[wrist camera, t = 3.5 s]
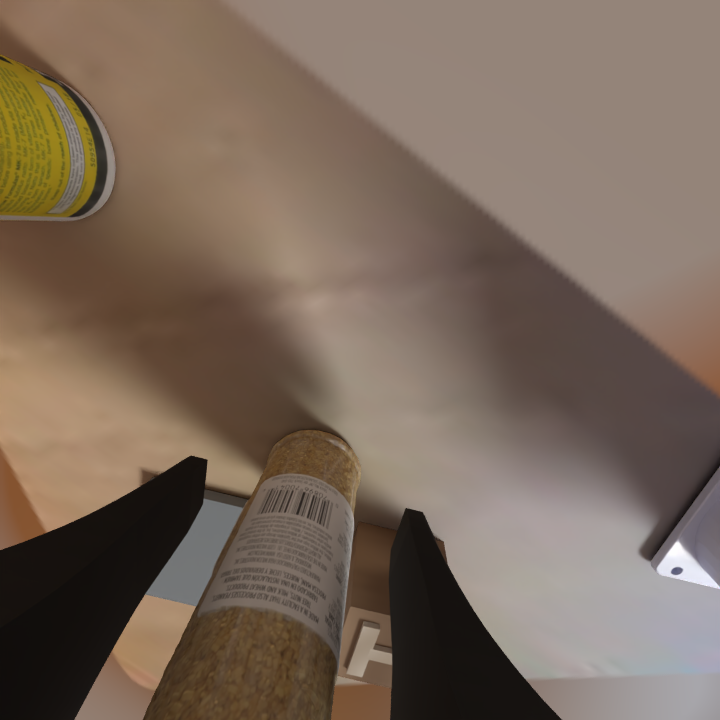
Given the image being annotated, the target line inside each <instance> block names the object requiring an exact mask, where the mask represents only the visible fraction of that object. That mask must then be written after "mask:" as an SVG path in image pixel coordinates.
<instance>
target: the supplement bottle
mask: <svg viewBox="0 0 720 720" xmlns="http://www.w3.org/2000/svg"><path fill="white" fill-rule="evenodd" d="M115 172H116V164H115V156H114V151H113V147H112V144H111V141H110V138H109V135H108V133H107V131H106V129H105V127H104V125H103V123H102V121H101V120H100V118H99V116H98V115H97V113H96V112H95V111H94V109H93V108H92V107H91V106H90V104H89V103H88V102H87V101H86V100H85V99H84V98H83V97H82V96H81V95H80V94H79V93H78V92H76V91H75V90H74V89H72V88H71V87H69V86H68V85H66V84H65V83H63V82H61V81H59V80H57V79H55V78H53V77H51V76H49V75H47V74H45V73H42V72H40V71H38V70H36V69H33V68H31V67H28V66H26V65H24V64H21V63H19V62H17V61H14V60H12V59H10V58H8V57H5V56H3V55H1V54H0V220H13V221H17V220H24V221H74V220H79V219H83V218H85V217H88V216H90V215H92V214H93V213H95V212H96V211H98V210H99V209H100V208H101V207H102V206H103V205H104V204H105V203H106V201H107V200H108V198H109V196H110V195H111V192H112V189H113V186H114V181H115Z"/></svg>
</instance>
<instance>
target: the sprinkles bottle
mask: <svg viewBox="0 0 720 720" xmlns="http://www.w3.org/2000/svg"><path fill="white" fill-rule="evenodd" d="M360 479H361V466H360V463H359V461H358V458H357V456H356V455H355V453H354V452H353V450H352V448H351V447H349V446H348V445H347V443H345V442H344V441H343V440H342V439H341V438H338V437H337V436H335V435H333V434H330V433H326V432H322V431H318V430H301V431H297V432H294V433H291V434H289V435H287V436H285V437H284V438H283V439H281V440H280V441H279V442H277V443H276V444H275V445H274V447H273V448H272V450H271V453H270V455H269V457H268V459H267V466H266V468H265V470H264V472H263V474H262V476H261V478H260V480H259V482H258V484H257V486H256V488H255V490H254V492H253V494H252V496H251V498H250V499H249V500H248V501H247V502H246V504H245V506H244V508H243V510H242V512H241V513H240V515H239V517H238V519H237V521H236V523H235V525H234V527H233V529H232V531H231V533H230V535H229V537H228V539H227V541H226V543H225V545H224V547H223V549H222V551H221V553H220V555H219V557H218V559H217V561H216V563H215V565H214V568H213V571H212V576H211V578H210V580H209V582H208V584H207V586H206V588H205V590H204V592H203V594H202V596H201V598H200V600H199V602H198V604H197V606H196V608H195V610H194V612H193V614H192V616H191V619H190V621H189V623H188V625H187V627H186V629H185V631H184V633H183V635H182V637H181V640H180V642H179V644H178V646H177V647H176V649H175V652H174V654H173V656H172V658H171V660H170V661H169V663H168V665H167V667H166V669H165V671H164V674H163V677H162V679H161V681H160V683H159V685H158V687H157V689H156V691H155V693H154V695H153V697H152V700H151V702H150V704H149V706H148V708H147V711H146V714H145V716H144V719H143V720H331V712H332V704H333V694H334V686H335V683H336V680H337V676H338V670H339V660H340V650H341V641H342V632H343V622H344V614H345V605H346V596H347V586H348V578H349V569H350V560H351V551H352V541H353V533H354V509H355V500H356V491H357V489H358V486H359V484H360Z"/></svg>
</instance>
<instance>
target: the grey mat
mask: <svg viewBox="0 0 720 720" xmlns="http://www.w3.org/2000/svg"><path fill="white" fill-rule="evenodd" d="M154 478H155V477H152V479H154ZM152 479H151V480H152ZM247 501H248V499H243V498H239V497H235V496H231V495H227V494H223V493H218V492H214V491H210V490H206V489H205V490H204V500H203V505H202V507H201V509H200V511H199V513H198V515H197V517H196V519H195V521H194V522H193V524H192V526H191V528H190V530H189V531H188V533H187V535H186V536H185V537H184V539H183V540H182V542H181V543H180V545H179V546H178V548H177V549H176V551H175V552H174V554H173V555H172V556H171V558H170V559H169V561H168V562H167V564H166V565H165V566H164V568H163V569H162V571H161V572H160V574H159V575H158V576H157V578H156V579H155V581H154V582H153V584H152V585H151V587H150V588H149V589H148V591H147V592H146V595H150V596H154V597H159V598H163V599H167V600H171V601H176V602H180V603H184V604H188V605H193V606H197V604H198V602H199V600H200V598H201V596H202V594H203V592H204V590H205V588H206V586H207V584H208V582H209V580H210V578H211V576H212V571H213V568H214V565H215V563H216V561H217V559H218V557H219V555H220V553H221V551H222V549H223V547H224V545H225V543H226V541H227V539H228V537H229V535H230V533H231V531H232V529H233V527H234V525H235V523H236V521H237V519H238V517H239V515H240V513H241V512H242V510H243V508H244V506H245V504H246V502H247Z"/></svg>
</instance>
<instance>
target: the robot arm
mask: <svg viewBox="0 0 720 720" xmlns="http://www.w3.org/2000/svg"><path fill="white" fill-rule="evenodd" d="M207 461H208V460H207V459H203V458H199V457H195V456H189V457H187V458H186V459H184V460H182V461H181V462H179V463H178V464H176V465H174V466H173V467H171V468H170V469H168V470H167V471H165V472H163V473H162V474H160V475H159V476H157V477H155V478H154V479H152V480H150V481H149V482H147V483H145V484H144V485H142V486H140V487H139V488H137V489H135V490H134V491H132V492H130V493H128V494H127V495H125V496H123V497H121V498H119V499H117V500H116V501H114V502H112V503H110V504H108V505H106V506H105V507H103V508H101V509H99V510H97V511H95V512H93V513H91V514H89V515H87V516H84V517H82V518H80V519H78V520H76V521H74V522H71V523H69V524H67V525H65V526H62V527H60V528H57V529H55V530H52V531H50V532H47V533H45V534H43V535H40V536H37V537H35V538H33V539H30V540H28V541H25V542H23V543H19V544H17V545H14V546H11V547H8V548H5V549H3V550H0V720H74V719H75V717H76V716H77V714H78V712H79V710H80V708H81V706H82V704H83V702H84V700H85V699H86V697H87V695H88V693H89V691H90V689H91V687H92V685H93V684H94V682H95V680H96V678H97V676H98V675H99V673H100V671H101V669H102V667H103V666H104V664H105V662H106V660H107V658H108V657H109V655H110V653H111V651H112V649H113V648H114V646H115V644H116V642H117V640H118V639H119V637H120V635H121V634H122V632H123V630H124V628H125V627H126V625H127V623H128V621H129V620H130V618H131V616H132V614H133V613H134V611H135V609H136V608H137V606H138V605H139V603H140V601H141V600H142V598H143V597H144V595H145V594H146V592H147V591H148V589H149V588H150V587H151V585H152V584H153V582H154V581H155V579H156V578H157V576H158V575H159V574H160V572H161V571H162V569H163V568H164V566H165V565H166V564H167V562H168V561H169V559H170V558H171V556H172V555H173V554H174V552H175V551H176V549H177V548H178V546H179V545H180V543H181V542H182V540H183V539H184V537H185V536H186V535H187V533H188V531H189V530H190V528H191V526H192V524H193V522H194V521H195V519H196V517H197V515H198V513H199V511H200V509H201V507H202V505H203V500H204V490H205V480H206V471H207ZM651 566H652V567H653V569H654V570H655V571H656V572H657V573H658V574H660V575H663V576H668V577H672V578H676V579H680V580H684V581H688V582H692V583H697V584H701V585H705V586H709V587H713V588H717V589H720V467H719V468H718V469H717V471H716V472H715V474H714V475H713V476H712V478H711V479H710V480H709V482H708V483H707V485H706V486H705V487H704V489H703V490H702V491H701V493H700V494H699V496H698V497H697V498H696V500H695V501H694V502H693V504H692V505H691V507H690V508H689V509H688V511H687V512H686V513H685V515H684V516H683V518H682V519H681V520H680V522H679V523H678V524H677V526H676V527H675V529H674V530H673V531H672V533H671V534H670V535H669V537H668V538H667V540H666V541H665V542H664V544H663V545H662V546H661V548H660V549H659V551H658V552H657V553H656V555H655V556H654V557H653V559H652V561H651ZM389 599H390V621H391V642H392V691H391V715H390V720H561V718H560V717H559V716H558V715H557V714H556V713H555V712H554V711H553V710H552V709H551V708H550V707H549V706H548V705H547V704H546V703H545V702H544V701H543V699H542V698H541V697H540V696H539V695H538V694H537V693H536V691H535V690H534V689H533V688H532V687H531V686H530V684H529V683H528V682H527V681H526V680H525V679H524V677H523V676H522V675H521V674H520V673H519V671H518V670H517V669H516V668H515V666H514V665H513V664H512V663H511V661H510V660H509V659H508V658H507V656H506V655H505V654H504V652H503V651H502V650H501V648H500V647H499V646H498V645H497V643H496V642H495V641H494V639H493V638H492V637H491V635H490V634H489V632H488V631H487V630H486V628H485V627H484V625H483V624H482V622H481V621H480V619H479V618H478V616H477V615H476V613H475V612H474V610H473V609H472V607H471V605H470V604H469V602H468V600H467V599H466V597H465V595H464V594H463V592H462V590H461V589H460V587H459V585H458V583H457V582H456V580H455V578H454V576H453V574H452V572H451V570H450V568H449V567H448V565H447V563H446V561H445V559H444V557H443V555H442V553H441V551H440V549H439V547H438V544H437V542H436V540H435V538H434V536H433V534H432V531H431V529H430V527H429V525H428V522H427V520H426V518H425V516H424V514H423V512H420V511H416V510H412V509H408V508H406V509H405V512H404V515H403V517H402V520H401V523H400V525H399V528H398V531H397V534H396V536H395V539H394V542H393V545H392V547H391V552H390V566H389Z"/></svg>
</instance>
